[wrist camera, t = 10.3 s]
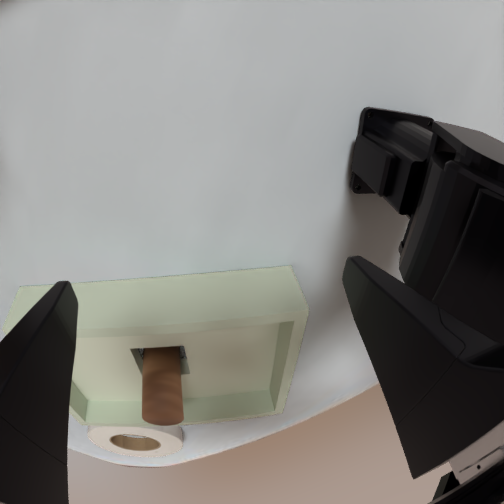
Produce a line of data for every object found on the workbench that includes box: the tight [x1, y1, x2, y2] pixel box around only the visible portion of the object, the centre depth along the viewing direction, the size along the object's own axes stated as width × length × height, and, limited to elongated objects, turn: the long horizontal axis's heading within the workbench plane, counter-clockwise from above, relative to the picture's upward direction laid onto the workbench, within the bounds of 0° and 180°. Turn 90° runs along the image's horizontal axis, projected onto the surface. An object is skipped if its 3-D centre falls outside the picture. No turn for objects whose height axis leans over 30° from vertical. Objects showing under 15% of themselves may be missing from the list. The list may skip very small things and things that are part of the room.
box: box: [2, 265, 309, 427], centre depth 28 cm, size 24×18×5 cm
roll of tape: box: [88, 425, 183, 457], centre depth 41 cm, size 16×15×3 cm
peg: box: [142, 346, 184, 426], centre depth 26 cm, size 4×4×8 cm
